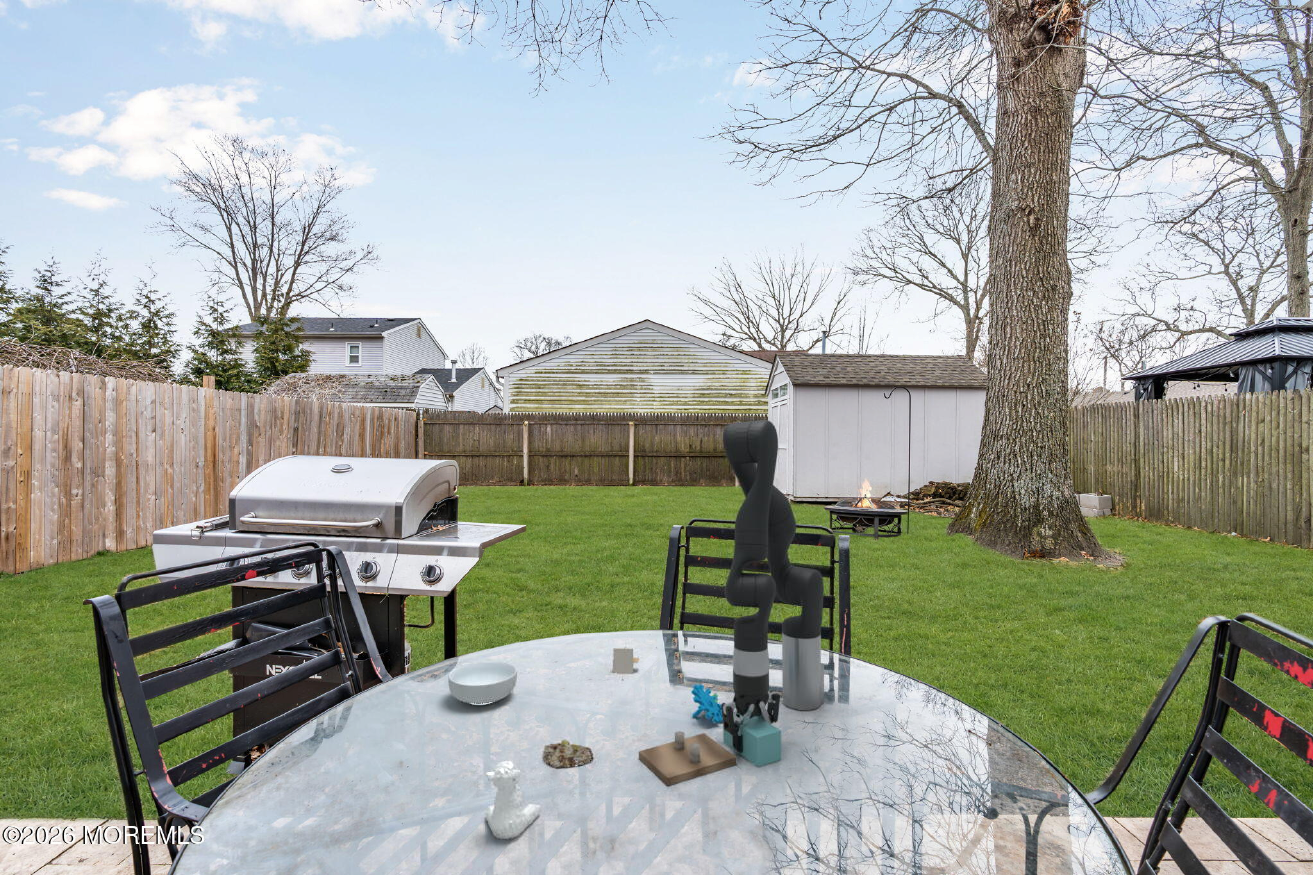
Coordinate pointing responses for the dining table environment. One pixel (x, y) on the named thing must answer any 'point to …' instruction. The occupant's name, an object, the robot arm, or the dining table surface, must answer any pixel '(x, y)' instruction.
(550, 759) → the mineral rock
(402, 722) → the dining table surface
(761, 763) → the teal rectangular block
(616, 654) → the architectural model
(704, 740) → the base plate
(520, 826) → the white creature statuette
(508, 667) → the cereal bowl
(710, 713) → the blue lumpy branched piece
